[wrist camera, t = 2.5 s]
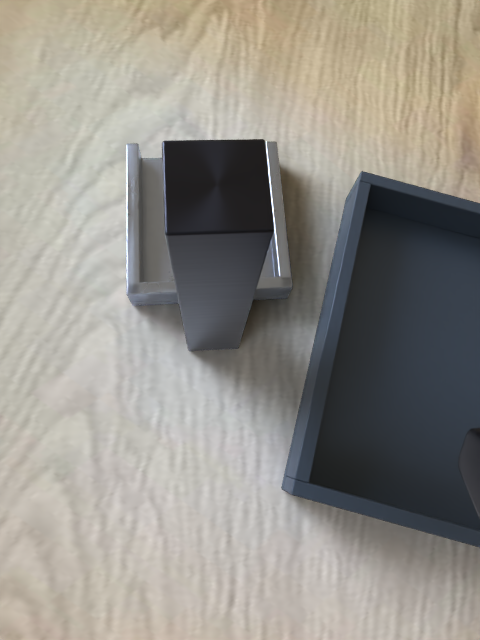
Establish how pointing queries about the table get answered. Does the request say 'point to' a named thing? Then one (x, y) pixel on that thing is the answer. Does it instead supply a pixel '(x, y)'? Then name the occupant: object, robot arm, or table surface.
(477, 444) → the robot arm
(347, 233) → the tray
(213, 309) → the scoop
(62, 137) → the table surface
